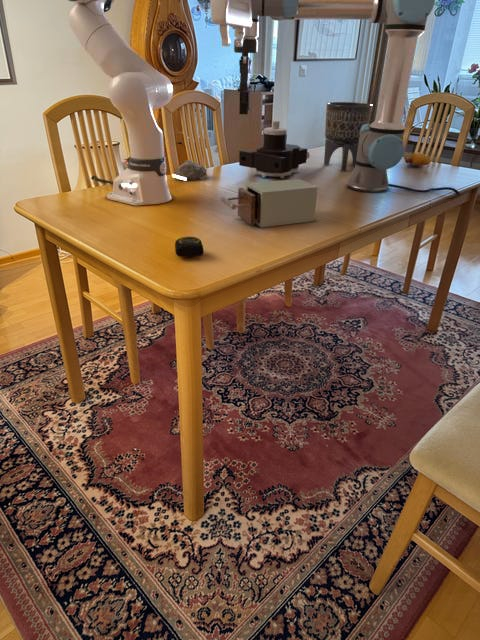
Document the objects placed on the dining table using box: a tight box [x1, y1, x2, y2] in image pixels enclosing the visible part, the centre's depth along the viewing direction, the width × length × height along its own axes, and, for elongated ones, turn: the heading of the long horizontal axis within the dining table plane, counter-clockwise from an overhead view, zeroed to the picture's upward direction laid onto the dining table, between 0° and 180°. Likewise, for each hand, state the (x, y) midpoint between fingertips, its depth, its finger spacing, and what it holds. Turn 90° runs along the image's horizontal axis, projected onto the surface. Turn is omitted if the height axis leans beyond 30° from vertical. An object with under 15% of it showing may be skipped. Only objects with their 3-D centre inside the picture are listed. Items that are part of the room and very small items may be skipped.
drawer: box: [220, 187, 261, 226], centre depth 136 cm, size 23×10×8 cm, turn 113°
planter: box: [323, 101, 374, 172], centre depth 204 cm, size 20×20×26 cm
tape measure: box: [174, 236, 205, 258], centre depth 113 cm, size 7×7×4 cm
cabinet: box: [246, 178, 318, 228], centre depth 139 cm, size 18×11×10 cm, turn 113°
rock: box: [175, 159, 208, 182], centre depth 183 cm, size 13×9×6 cm, turn 131°
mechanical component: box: [238, 120, 311, 179], centre depth 191 cm, size 22×21×30 cm
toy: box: [403, 151, 432, 168], centre depth 216 cm, size 11×6×15 cm
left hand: (232, 46), depth 123 cm, fingers open, 8 cm apart
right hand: (244, 112), depth 154 cm, fingers open, 13 cm apart
